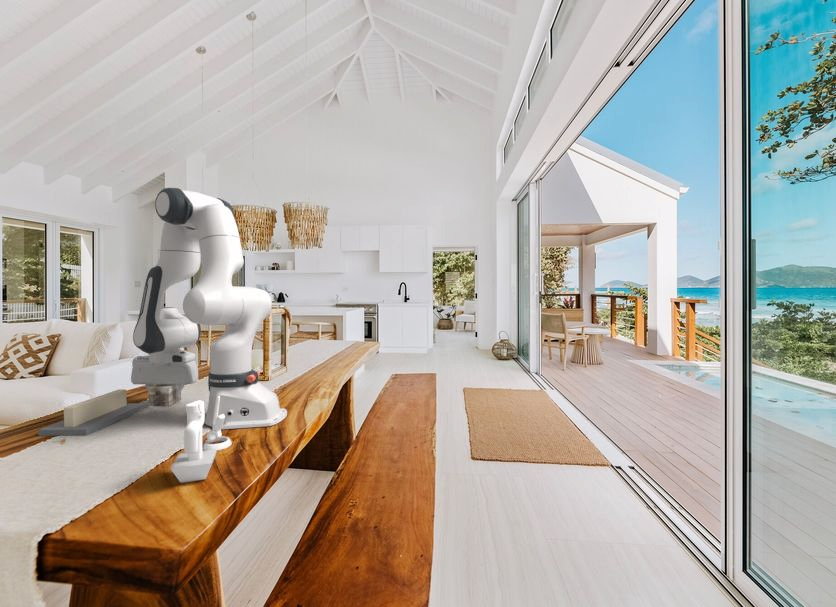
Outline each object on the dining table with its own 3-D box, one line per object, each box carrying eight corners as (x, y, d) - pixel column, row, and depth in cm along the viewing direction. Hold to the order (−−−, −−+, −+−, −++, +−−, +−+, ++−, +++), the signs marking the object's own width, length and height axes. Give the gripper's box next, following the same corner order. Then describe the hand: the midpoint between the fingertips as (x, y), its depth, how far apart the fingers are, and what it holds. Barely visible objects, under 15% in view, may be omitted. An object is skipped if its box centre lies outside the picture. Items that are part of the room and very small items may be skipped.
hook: (224, 437, 89) (205, 422, 90) (212, 465, 93) (194, 450, 94) (244, 423, 95) (227, 409, 96) (232, 450, 99) (215, 435, 100)
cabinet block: (181, 400, 135) (180, 382, 134) (167, 407, 127) (167, 388, 127) (161, 400, 134) (161, 382, 134) (147, 407, 127) (146, 388, 126)
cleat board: (146, 407, 126) (146, 387, 126) (86, 435, 102) (85, 410, 102) (107, 408, 125) (107, 388, 125) (38, 435, 101) (37, 410, 101)
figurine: (168, 490, 74) (167, 411, 74) (180, 468, 83) (179, 398, 82) (211, 483, 76) (211, 407, 76) (218, 463, 85) (217, 395, 85)
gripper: (125, 357, 127) (126, 399, 127) (190, 357, 128) (191, 399, 128) (138, 354, 133) (139, 394, 134) (200, 354, 134) (200, 394, 135)
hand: (165, 397), depth 131 cm, fingers closed on cabinet block, 6 cm apart
